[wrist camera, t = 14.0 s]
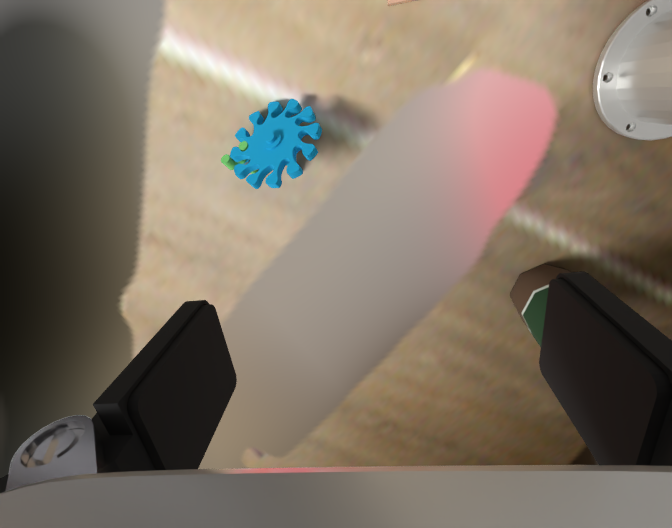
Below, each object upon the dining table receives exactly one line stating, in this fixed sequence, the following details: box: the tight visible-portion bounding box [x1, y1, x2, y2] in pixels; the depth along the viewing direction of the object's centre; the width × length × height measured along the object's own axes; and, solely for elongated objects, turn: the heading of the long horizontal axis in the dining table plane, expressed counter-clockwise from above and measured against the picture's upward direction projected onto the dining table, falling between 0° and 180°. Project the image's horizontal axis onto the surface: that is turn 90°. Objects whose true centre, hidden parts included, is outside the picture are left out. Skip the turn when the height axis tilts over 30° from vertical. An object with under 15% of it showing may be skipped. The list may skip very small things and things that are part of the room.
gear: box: [221, 99, 322, 189], centre depth 38 cm, size 11×6×10 cm
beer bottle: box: [510, 264, 571, 347], centre depth 33 cm, size 8×8×24 cm
